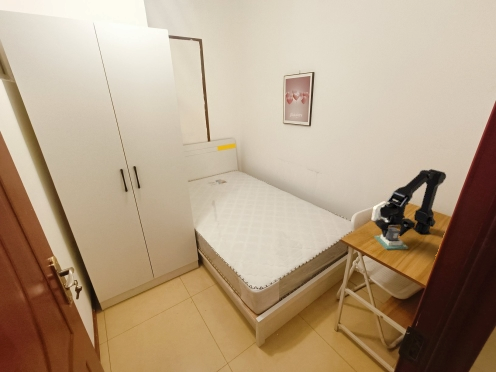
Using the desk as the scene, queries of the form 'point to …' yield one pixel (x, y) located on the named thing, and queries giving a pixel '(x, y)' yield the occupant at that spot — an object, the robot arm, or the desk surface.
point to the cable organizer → (378, 212)
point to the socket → (391, 243)
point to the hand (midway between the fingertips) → (391, 236)
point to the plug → (392, 234)
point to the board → (390, 246)
